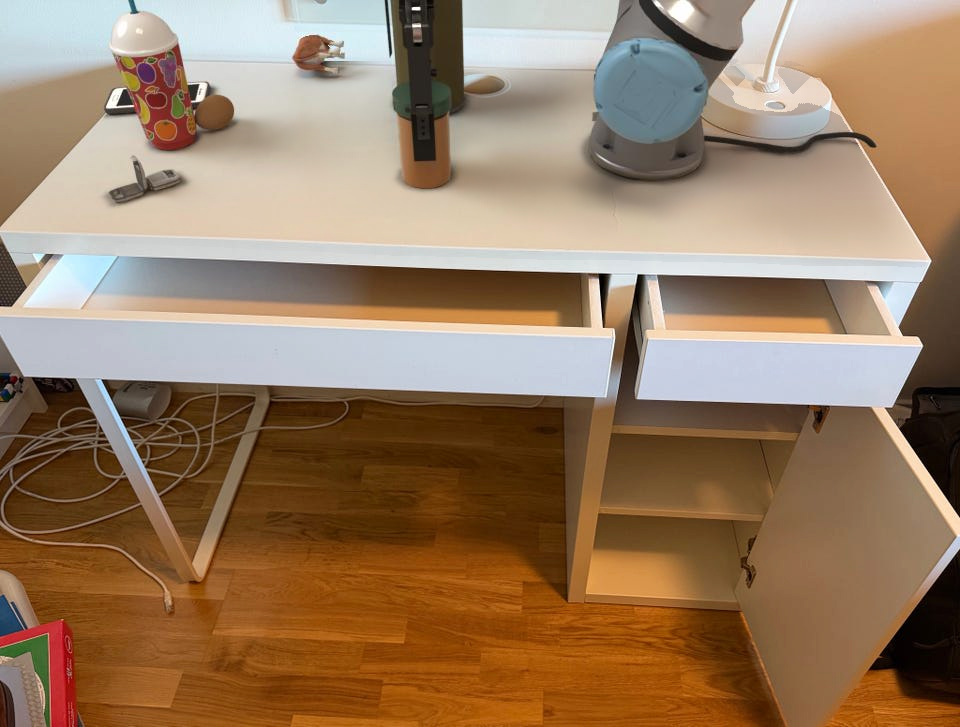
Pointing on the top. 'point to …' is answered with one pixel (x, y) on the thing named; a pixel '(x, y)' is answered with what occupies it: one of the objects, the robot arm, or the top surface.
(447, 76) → the canister
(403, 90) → the lid
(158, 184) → the strap clip
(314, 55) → the bull figurine
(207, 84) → the cell phone
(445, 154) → the jar
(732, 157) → the top surface
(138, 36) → the smoothie
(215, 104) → the egg
